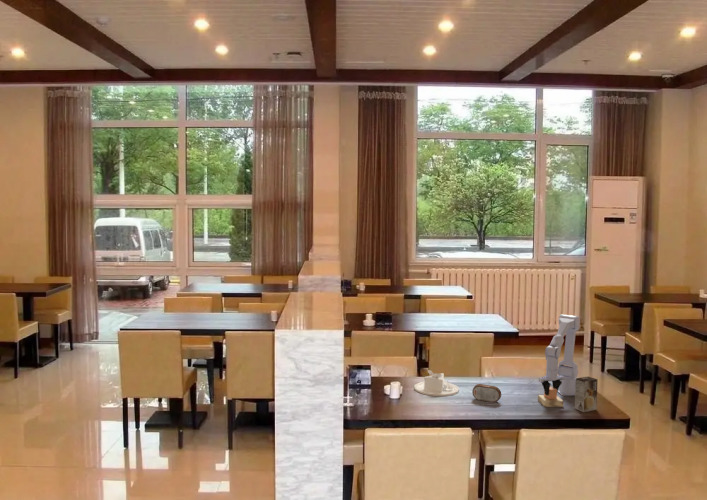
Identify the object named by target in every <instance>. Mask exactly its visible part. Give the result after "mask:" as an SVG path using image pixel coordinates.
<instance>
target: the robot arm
mask: <svg viewBox="0 0 707 500" xmlns="http://www.w3.org/2000/svg"><path fill="white" fill-rule="evenodd" d="M580 323H581V320H580V316H579V315H571V314H563V313H561V314H560V315H559V317H558V324H559V325H558V326H559V327H558V330H557V333H556V334H555V335H554V336H553V337H552V340H551V342H550V343H549V345H548V346H546V347H545V349H544V350H545V351H544V356H545V361H546V363H545V364H546V365H545V366H546V369H545V370H546V371H545V376H542V377H541V376H540V377H538V382H539V383H541V384H542V387H543V392H544V391H545V395H549V388H550V387H551V385H552V387H554V388H556V389H557V393H559V394H560V396H562V397H563V396H564V397H565V396H566V397H567V396H569V397H570V396H574V397H575V387H576V378H577V377H578V375H579V369H578V368H579V365H578V364H577V363H576V362H575V361H574V353H575V343H576V342H575V341H576V334H577V332H578V331H579V330H580ZM564 337H565V339H564ZM564 342H565V343H564ZM563 344H564V352H563V353H564V354H563V360H560V361H559V358H560V356H561V352H562V346H563ZM550 382H552V383H550Z"/></svg>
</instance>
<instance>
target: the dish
mask: <svg viewBox="0 0 707 500" xmlns="http://www.w3.org/2000/svg"><path fill="white" fill-rule="evenodd" d="M427 372H428V374H429V375H427V376H424V381H421V382H417V383H416V384H414V385H413V386H414V387H413V388H414V391H416V392H417V393H419V394H423V395H426V396H433V397H450V396H454V395H457V394H458V393H459V392H460V388H459V386H458V385H456V384H453V383H450V382H447V381H446V380H445V379H444V376H445V375H444V372H443V373H442V372H441V373H438V372H437V373H436V372H433V371H432V370H430V369H427Z"/></svg>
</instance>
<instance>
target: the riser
mask: <svg viewBox="0 0 707 500" xmlns="http://www.w3.org/2000/svg"><path fill="white" fill-rule="evenodd" d="M537 401H538V402H539V403H540V404H541V405H542V406H543V407H545V408H546V407H547V408H549V407H550V408H552V407H553V408H554V407H555V408H557V407H558V408H559V407H562V408H563V407H564V400H563V399H562V398H561V397H560V396H558V395H557V398H556V399H548V398H546V397H544V394H538V395H537Z"/></svg>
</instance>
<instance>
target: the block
mask: <svg viewBox="0 0 707 500" xmlns="http://www.w3.org/2000/svg"><path fill="white" fill-rule="evenodd" d="M543 395H544V397H546V398H548V399H556V398H557V396H558V392H557V389H556V388H554V387H553V386H550V388H549V395H545V391H544V390H543Z"/></svg>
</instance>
